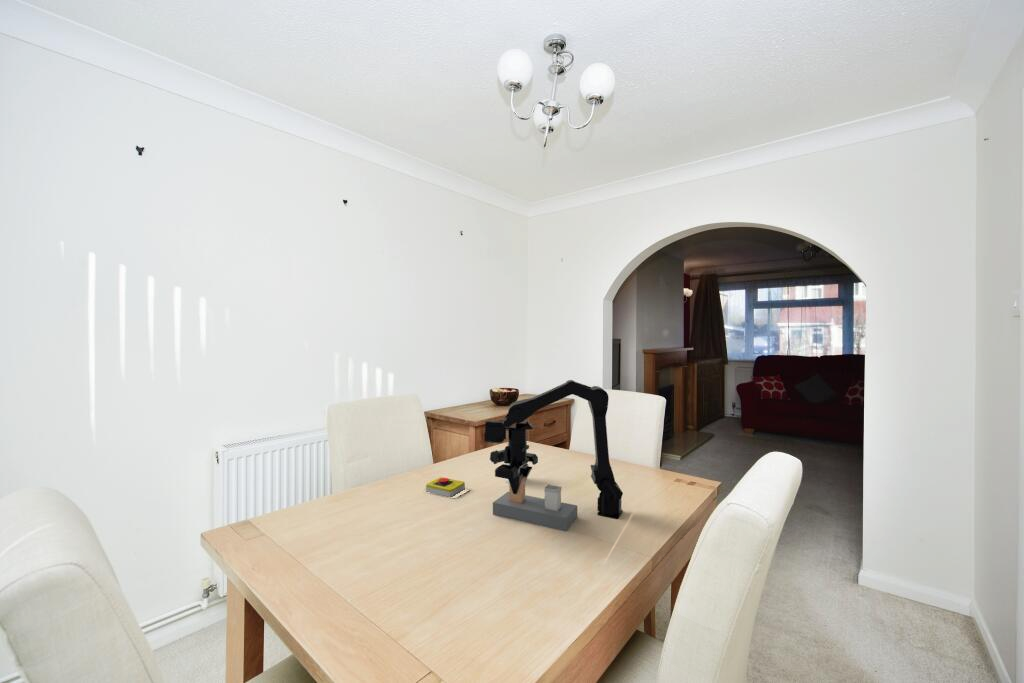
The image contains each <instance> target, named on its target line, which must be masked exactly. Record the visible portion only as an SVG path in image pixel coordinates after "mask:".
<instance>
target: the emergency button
mask: <svg viewBox="0 0 1024 683" xmlns="http://www.w3.org/2000/svg"><path fill="white" fill-rule="evenodd" d="M465 485H466V483H465V481H461V480H457V479H452V478H448V477H442V476H441V477H438V478H436V479H433V480H432V481H430V482H428V483H426V485H425V489H426V492H430V493H429V494H431V493H434V494H433V495H435V494H438V495H437V496H439V495H442V496H441V497H444V496H446V497H445V498H448V497H453V496H455V495H456V494H458V493H460V492H461V491H463V490H465V489H466V486H465ZM426 492H425V493H426Z"/></svg>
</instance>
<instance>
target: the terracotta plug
mask: <svg viewBox="0 0 1024 683" xmlns="http://www.w3.org/2000/svg"><path fill="white" fill-rule="evenodd" d="M525 480H526V481H527V479H526V477H524V476H522V479H521V482H520V485H519V489H518V492H517V494H513V492H512V489H511V485H510V482H509V483H508V484H509V487H508V488H509V489H508V490H509V491H508V492H509V501H510V502H515V503H520V504H522V503H523V502H524V501H525V495H526V481H525Z"/></svg>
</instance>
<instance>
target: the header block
mask: <svg viewBox="0 0 1024 683" xmlns="http://www.w3.org/2000/svg"><path fill="white" fill-rule="evenodd" d="M492 516H496V517H501V518H506V519H509V520H514V521H518V522H522V523H528V524H530V525H531V524H532V525H537V526H541V527H545V528H548V529H549V528H550V529H552V530H553V529H554V530H557V531H561V530H562V531H563V532H567V531H568V530H569V529H570V527H571V526H572V525H573V524H574V523H575V522H576V521H577V519H578V504H572V503H567V502H562V501H561V509H560V510H559V511H553V510H549V509H545V498H543V497H542V498H541V497H537V496H532V495H527V494H525V501H524V502H523V503H522V504H520V503H515V502H510V501H509V491H507V492H506V493H504V494H502V495H501V496H500V497H498V498H497V499H496V500H493V502H492Z"/></svg>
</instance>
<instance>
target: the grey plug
mask: <svg viewBox="0 0 1024 683" xmlns="http://www.w3.org/2000/svg"><path fill="white" fill-rule="evenodd" d="M544 499H545V509H549V510H553V511H559V510H560V509H561V502H562V486H559V485H554V484H547V485H546V486H545V487H544Z"/></svg>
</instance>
